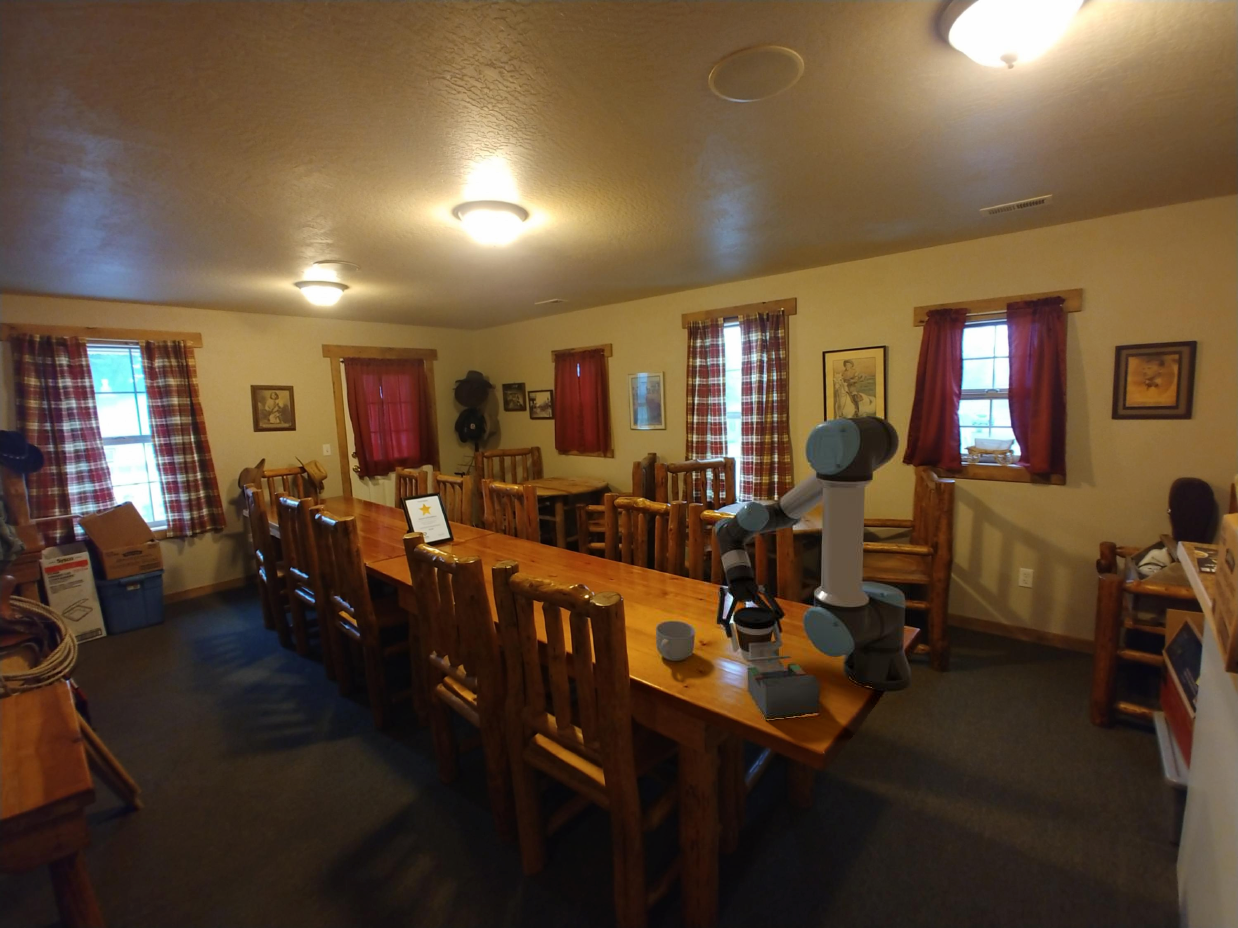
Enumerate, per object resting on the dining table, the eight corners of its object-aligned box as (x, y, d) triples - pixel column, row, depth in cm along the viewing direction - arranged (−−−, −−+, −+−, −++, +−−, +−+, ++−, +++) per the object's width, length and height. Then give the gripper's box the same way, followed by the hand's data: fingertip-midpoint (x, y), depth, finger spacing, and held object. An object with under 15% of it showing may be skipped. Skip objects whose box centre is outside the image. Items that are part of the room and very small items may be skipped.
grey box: (747, 691, 123) (747, 660, 122) (795, 686, 124) (795, 655, 123) (765, 721, 112) (765, 686, 111) (818, 715, 113) (818, 681, 112)
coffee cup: (781, 667, 129) (781, 622, 128) (738, 669, 129) (737, 624, 128) (769, 646, 140) (769, 605, 138) (729, 648, 140) (729, 606, 139)
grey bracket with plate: (742, 673, 128) (741, 643, 127) (784, 669, 129) (784, 639, 128) (750, 687, 122) (750, 656, 121) (794, 683, 123) (795, 652, 122)
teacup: (670, 642, 149) (669, 616, 148) (703, 653, 142) (702, 625, 141) (641, 662, 138) (640, 634, 137) (675, 675, 131) (674, 645, 130)
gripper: (774, 572, 149) (797, 648, 135) (695, 578, 147) (711, 656, 133) (781, 560, 143) (806, 638, 129) (699, 566, 141) (716, 646, 127)
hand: (758, 647), depth 131 cm, fingers closed on coffee cup, 11 cm apart
